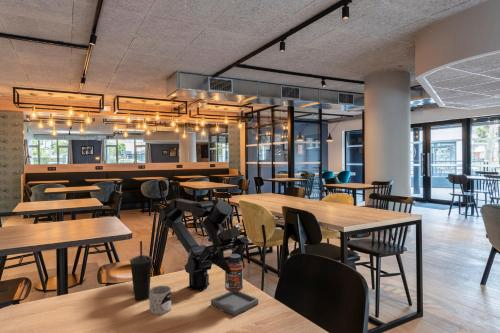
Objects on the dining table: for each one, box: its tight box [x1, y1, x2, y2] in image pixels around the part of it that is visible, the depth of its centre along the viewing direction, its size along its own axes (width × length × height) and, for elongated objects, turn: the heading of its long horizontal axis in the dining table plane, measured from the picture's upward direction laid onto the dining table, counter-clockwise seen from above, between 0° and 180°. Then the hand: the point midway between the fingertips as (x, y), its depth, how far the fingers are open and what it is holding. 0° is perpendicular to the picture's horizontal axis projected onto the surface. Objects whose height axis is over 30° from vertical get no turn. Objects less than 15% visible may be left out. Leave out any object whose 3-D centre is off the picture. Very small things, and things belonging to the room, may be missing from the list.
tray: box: [210, 290, 259, 318], centre depth 106 cm, size 11×11×2 cm
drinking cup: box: [129, 240, 153, 302], centre depth 111 cm, size 8×8×20 cm
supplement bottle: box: [224, 253, 244, 292], centre depth 106 cm, size 6×6×11 cm
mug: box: [149, 285, 172, 316], centre depth 104 cm, size 10×7×7 cm
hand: (237, 270), depth 105 cm, fingers closed on supplement bottle, 6 cm apart
